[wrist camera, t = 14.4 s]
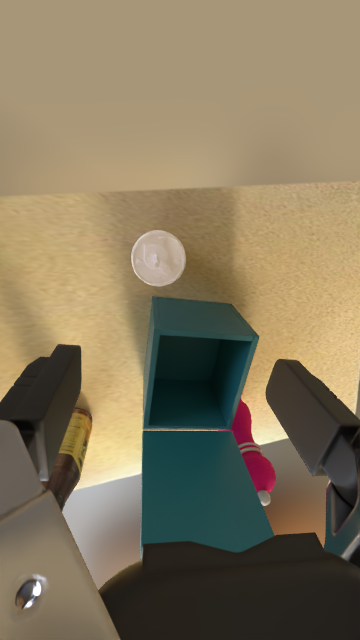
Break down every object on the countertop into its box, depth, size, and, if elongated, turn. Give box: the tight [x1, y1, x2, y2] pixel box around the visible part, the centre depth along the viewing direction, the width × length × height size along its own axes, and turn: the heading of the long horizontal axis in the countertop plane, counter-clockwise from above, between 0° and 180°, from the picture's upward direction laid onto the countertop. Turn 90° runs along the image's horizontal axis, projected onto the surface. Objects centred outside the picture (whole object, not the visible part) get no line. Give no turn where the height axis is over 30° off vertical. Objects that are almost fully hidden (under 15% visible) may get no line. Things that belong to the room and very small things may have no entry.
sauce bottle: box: [41, 409, 92, 512], centre depth 40 cm, size 6×6×20 cm
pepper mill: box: [218, 398, 276, 505], centre depth 43 cm, size 7×7×20 cm
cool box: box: [143, 296, 259, 430], centre depth 40 cm, size 17×14×12 cm
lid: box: [140, 431, 274, 560], centre depth 30 cm, size 17×14×6 cm
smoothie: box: [131, 230, 186, 286], centre depth 31 cm, size 6×6×14 cm
